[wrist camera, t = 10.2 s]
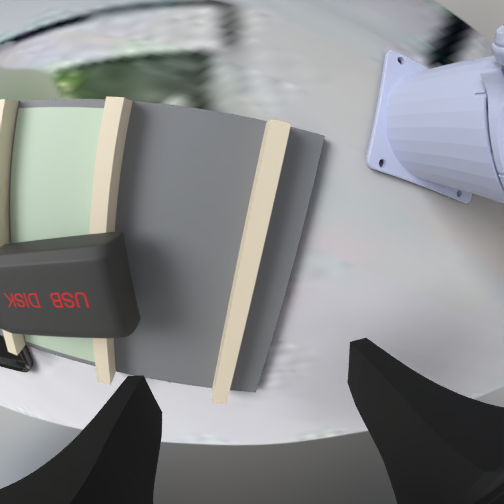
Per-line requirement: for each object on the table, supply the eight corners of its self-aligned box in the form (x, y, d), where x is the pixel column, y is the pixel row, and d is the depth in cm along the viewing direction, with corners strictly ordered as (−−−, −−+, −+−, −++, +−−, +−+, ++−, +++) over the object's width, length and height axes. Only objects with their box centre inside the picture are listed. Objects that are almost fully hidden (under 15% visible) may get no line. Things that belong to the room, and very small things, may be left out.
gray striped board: (320, 136, 16) (334, 135, 14) (254, 385, 22) (257, 406, 20) (-6, 103, 13) (-26, 103, 11) (2, 329, 18) (-11, 343, 16)
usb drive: (141, 318, 16) (130, 346, 14) (-2, 316, 16) (-22, 336, 13) (124, 230, 15) (105, 248, 12) (-24, 247, 14) (-48, 262, 11)
